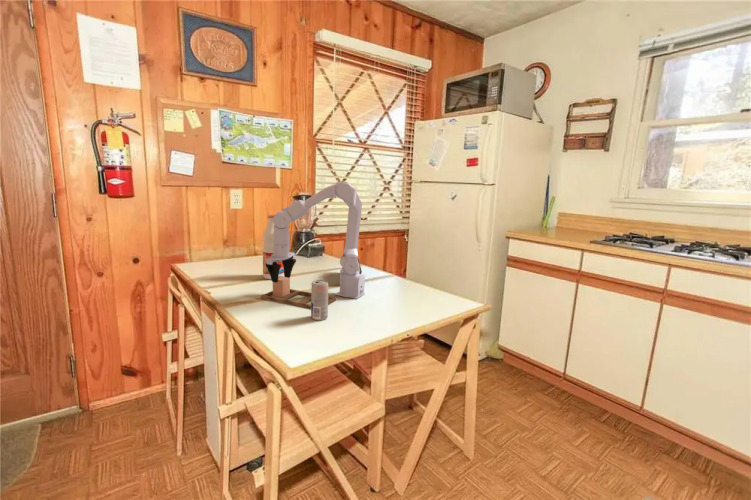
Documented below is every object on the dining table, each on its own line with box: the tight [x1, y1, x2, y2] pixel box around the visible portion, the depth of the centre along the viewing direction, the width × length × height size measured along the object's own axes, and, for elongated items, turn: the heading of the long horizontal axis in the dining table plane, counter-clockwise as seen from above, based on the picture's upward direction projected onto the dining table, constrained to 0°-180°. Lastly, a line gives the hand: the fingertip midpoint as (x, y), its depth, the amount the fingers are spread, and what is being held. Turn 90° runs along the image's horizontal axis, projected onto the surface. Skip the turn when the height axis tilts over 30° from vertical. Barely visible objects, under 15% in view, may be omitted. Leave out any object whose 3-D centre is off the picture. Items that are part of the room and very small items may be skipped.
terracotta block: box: [272, 276, 291, 298], centre depth 138 cm, size 4×4×7 cm
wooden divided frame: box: [260, 288, 337, 309], centre depth 135 cm, size 25×12×1 cm, turn 67°
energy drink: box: [310, 279, 329, 322], centre depth 117 cm, size 5×5×12 cm
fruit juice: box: [262, 214, 285, 281], centre depth 161 cm, size 9×9×28 cm
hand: (281, 279), depth 137 cm, fingers open, 7 cm apart
